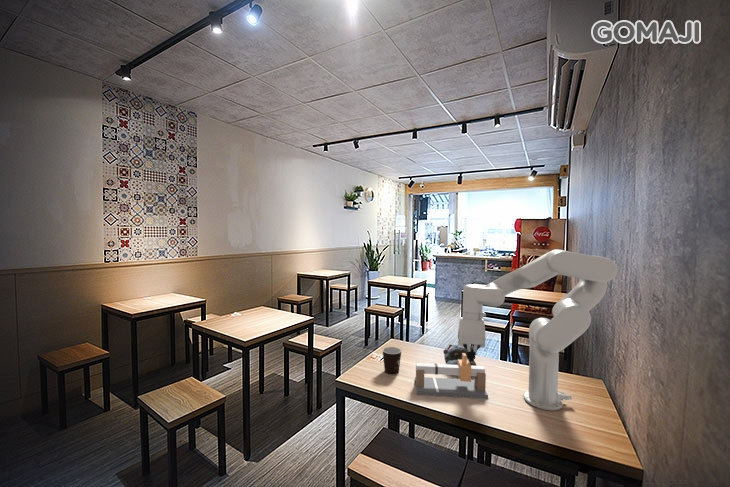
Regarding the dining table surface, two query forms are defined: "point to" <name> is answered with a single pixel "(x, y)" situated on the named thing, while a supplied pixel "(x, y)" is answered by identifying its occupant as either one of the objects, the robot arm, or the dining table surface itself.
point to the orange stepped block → (464, 369)
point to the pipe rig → (450, 381)
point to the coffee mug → (391, 360)
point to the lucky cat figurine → (455, 354)
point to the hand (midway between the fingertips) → (470, 360)
